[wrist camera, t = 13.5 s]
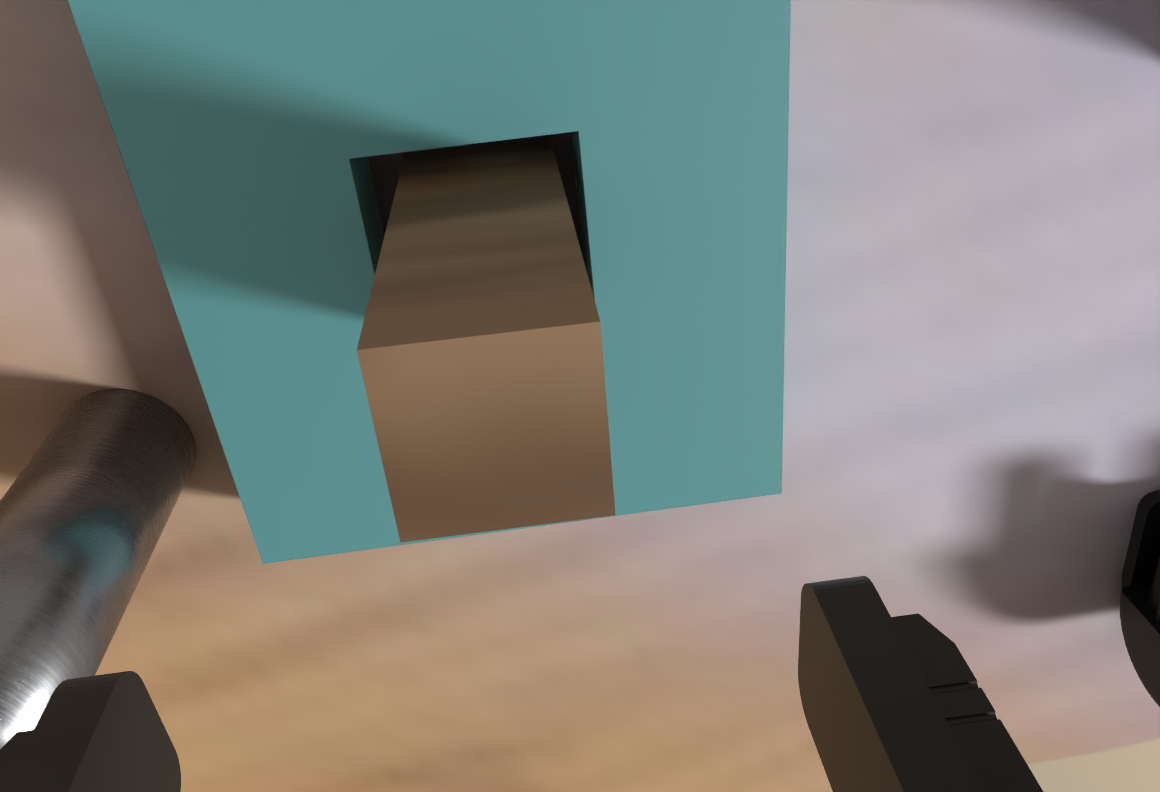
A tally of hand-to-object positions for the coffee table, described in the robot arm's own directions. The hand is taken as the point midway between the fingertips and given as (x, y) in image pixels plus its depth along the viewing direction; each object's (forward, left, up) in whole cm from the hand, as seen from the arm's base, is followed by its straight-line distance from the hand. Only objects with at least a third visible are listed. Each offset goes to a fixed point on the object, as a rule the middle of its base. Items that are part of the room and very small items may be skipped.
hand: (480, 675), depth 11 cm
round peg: (+6, -12, -18) cm, 22 cm away
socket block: (0, 0, -18) cm, 18 cm away
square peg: (0, 0, -18) cm, 18 cm away
